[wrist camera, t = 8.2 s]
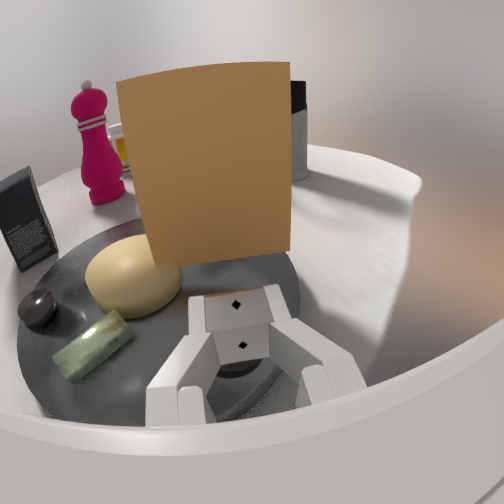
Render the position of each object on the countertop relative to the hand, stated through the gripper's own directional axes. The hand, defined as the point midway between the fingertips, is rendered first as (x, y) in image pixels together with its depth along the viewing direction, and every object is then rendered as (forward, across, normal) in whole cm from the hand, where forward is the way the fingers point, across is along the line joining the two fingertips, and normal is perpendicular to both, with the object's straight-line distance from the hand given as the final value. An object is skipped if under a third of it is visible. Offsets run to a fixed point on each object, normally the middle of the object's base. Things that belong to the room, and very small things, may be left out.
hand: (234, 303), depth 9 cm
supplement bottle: (+51, -18, -8) cm, 55 cm away
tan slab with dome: (+9, -3, -6) cm, 11 cm away
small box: (+22, -26, -8) cm, 35 cm away
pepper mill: (+35, -18, -8) cm, 40 cm away
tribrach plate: (+9, -7, -8) cm, 13 cm away
